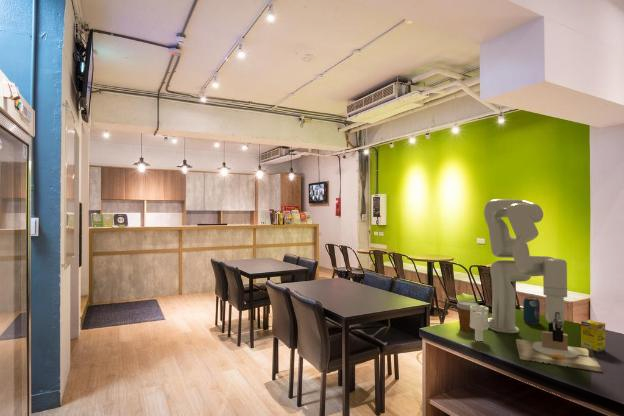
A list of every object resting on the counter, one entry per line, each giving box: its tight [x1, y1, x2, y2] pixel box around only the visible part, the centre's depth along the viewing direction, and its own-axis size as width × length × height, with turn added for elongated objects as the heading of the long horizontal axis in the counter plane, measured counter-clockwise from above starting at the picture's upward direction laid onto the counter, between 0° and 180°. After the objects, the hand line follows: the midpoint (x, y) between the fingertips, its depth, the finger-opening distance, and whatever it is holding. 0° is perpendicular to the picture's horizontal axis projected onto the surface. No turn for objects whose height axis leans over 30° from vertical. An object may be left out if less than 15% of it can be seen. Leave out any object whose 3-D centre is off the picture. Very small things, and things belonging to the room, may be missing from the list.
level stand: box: [515, 338, 602, 372], centre depth 141 cm, size 24×20×4 cm
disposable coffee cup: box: [456, 300, 479, 332], centre depth 173 cm, size 10×10×12 cm
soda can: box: [522, 296, 541, 325], centre depth 186 cm, size 7×7×12 cm
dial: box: [533, 330, 577, 359], centre depth 141 cm, size 14×16×7 cm
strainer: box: [470, 304, 489, 342], centre depth 157 cm, size 7×7×15 cm
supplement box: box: [580, 319, 606, 354], centre depth 149 cm, size 6×6×11 cm
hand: (555, 337), depth 141 cm, fingers open, 9 cm apart
